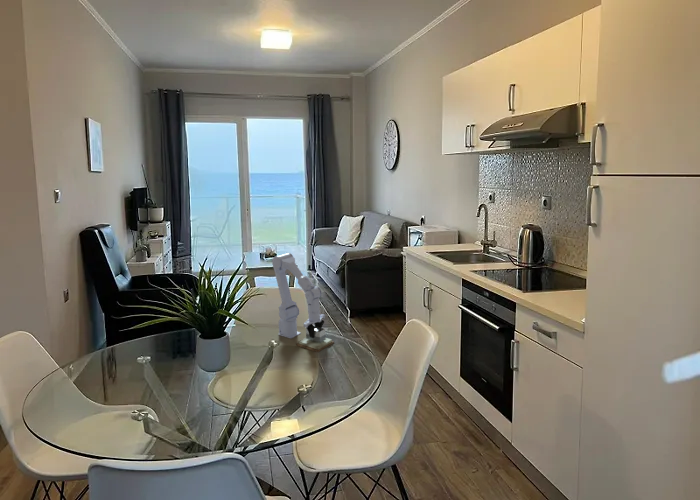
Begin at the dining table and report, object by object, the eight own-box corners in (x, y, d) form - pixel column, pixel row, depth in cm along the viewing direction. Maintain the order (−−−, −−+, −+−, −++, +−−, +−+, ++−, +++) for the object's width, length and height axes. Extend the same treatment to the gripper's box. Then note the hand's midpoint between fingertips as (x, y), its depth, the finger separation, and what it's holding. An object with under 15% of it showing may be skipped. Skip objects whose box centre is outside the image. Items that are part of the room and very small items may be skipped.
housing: (320, 343, 257) (319, 331, 256) (306, 338, 262) (305, 327, 261) (325, 339, 261) (325, 328, 259) (311, 335, 266) (311, 324, 264)
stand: (296, 345, 261) (296, 341, 261) (313, 336, 271) (312, 332, 271) (318, 352, 253) (317, 348, 253) (334, 342, 263) (334, 339, 263)
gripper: (310, 317, 250) (312, 342, 253) (329, 307, 261) (330, 332, 265) (299, 314, 254) (301, 339, 257) (318, 305, 265) (319, 329, 269)
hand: (315, 335), depth 261 cm, fingers closed on housing, 4 cm apart
